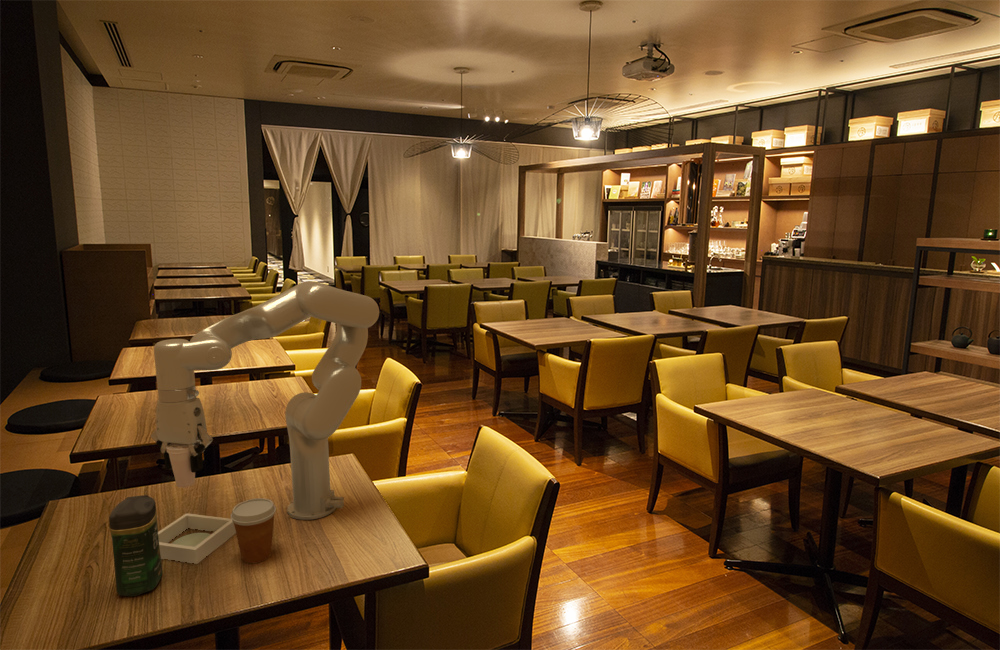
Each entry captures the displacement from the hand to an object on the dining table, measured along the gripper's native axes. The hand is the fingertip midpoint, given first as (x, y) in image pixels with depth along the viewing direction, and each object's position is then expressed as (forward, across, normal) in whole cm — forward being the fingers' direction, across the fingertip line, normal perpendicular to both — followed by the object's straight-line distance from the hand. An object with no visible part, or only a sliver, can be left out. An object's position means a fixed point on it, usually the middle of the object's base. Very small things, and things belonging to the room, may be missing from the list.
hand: (184, 468), depth 138 cm
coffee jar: (+19, -1, +16) cm, 25 cm away
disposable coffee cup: (+19, -18, +1) cm, 27 cm away
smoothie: (+4, 0, 0) cm, 4 cm away
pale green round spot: (+19, 0, 0) cm, 19 cm away
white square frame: (+19, 0, 0) cm, 19 cm away
